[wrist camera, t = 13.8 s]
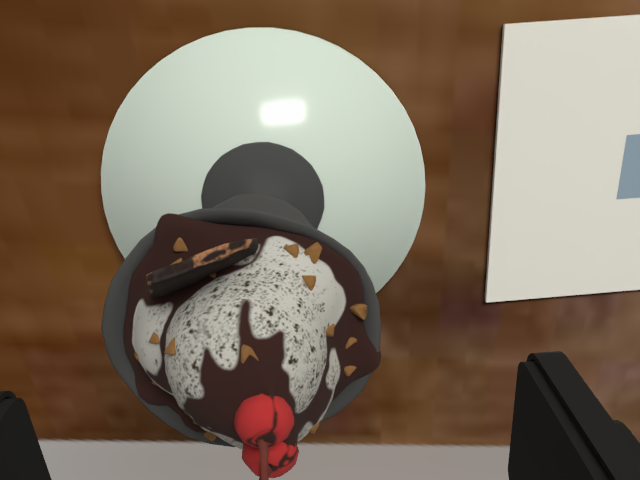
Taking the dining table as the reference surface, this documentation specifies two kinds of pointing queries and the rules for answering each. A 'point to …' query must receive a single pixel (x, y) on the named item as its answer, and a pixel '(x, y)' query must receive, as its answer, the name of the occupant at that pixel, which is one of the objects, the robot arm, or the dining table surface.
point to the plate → (268, 138)
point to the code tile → (566, 160)
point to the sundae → (245, 312)
